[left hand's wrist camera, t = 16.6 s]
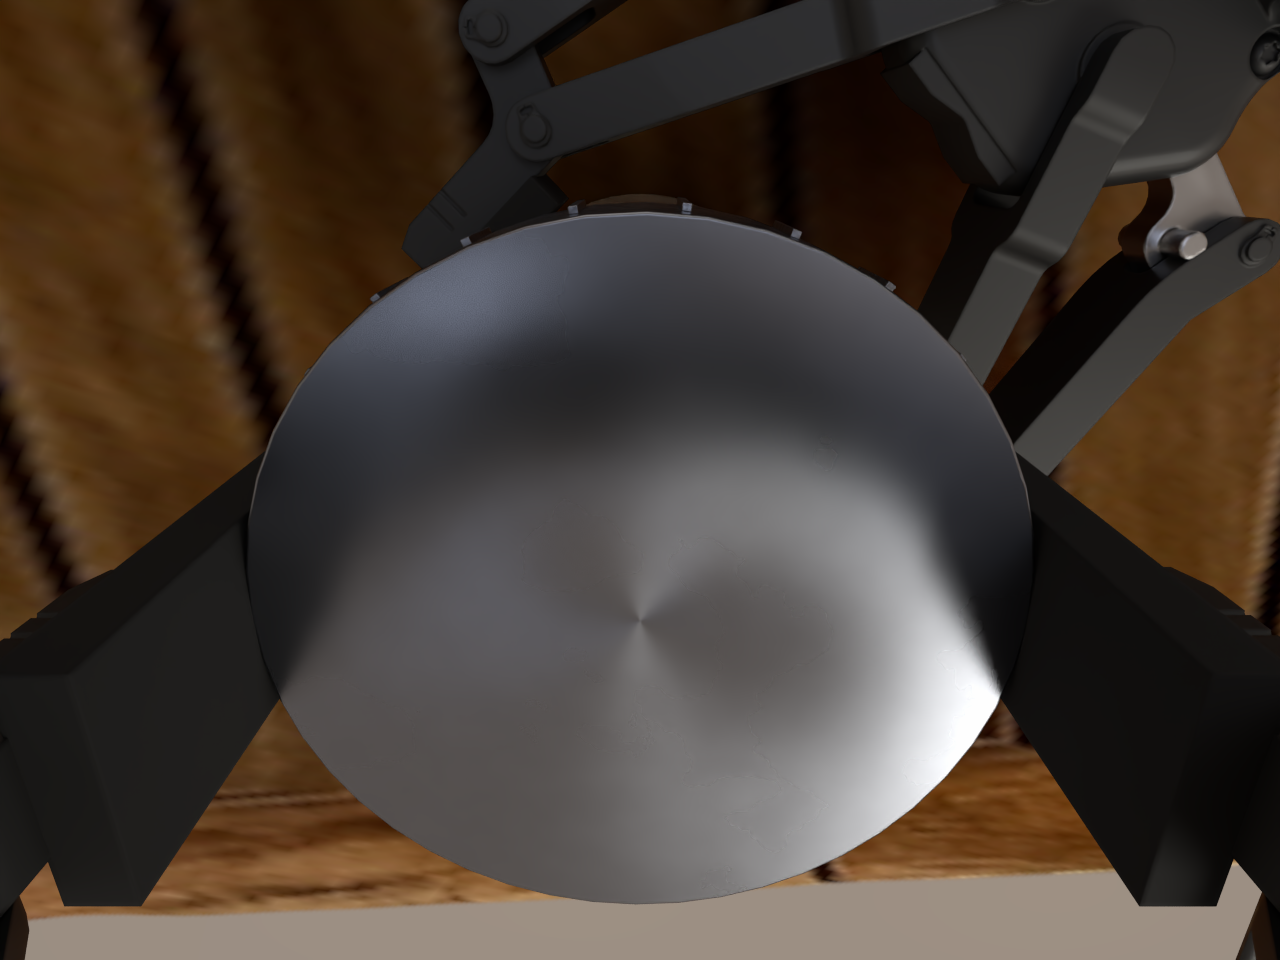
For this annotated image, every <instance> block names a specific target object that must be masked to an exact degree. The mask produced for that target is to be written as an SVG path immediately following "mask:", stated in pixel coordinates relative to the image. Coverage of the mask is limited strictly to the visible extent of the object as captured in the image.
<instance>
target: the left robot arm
mask: <svg viewBox="0 0 1280 960" xmlns="http://www.w3.org/2000/svg"><path fill="white" fill-rule="evenodd" d="M265 452H266V451H265ZM265 452H263V453H262V454H261V455H260V456H258V457H257V458H256V459H255V460H253V461H252V462H251V463H249V464H248V465H247V466H246V467H244V468H243V469H242V470H241V471H239V472H238V473H237V474H235V475H234V476H233V477H232V478H230V479H229V480H228V481H226V482H225V483H224V484H223V485H221V486H220V487H219V488H218V489H216V490H215V491H214V492H212V493H211V494H210V495H209V496H207V497H206V498H205V499H204V500H202V501H201V502H200V503H198V504H197V505H196V506H195V507H193V508H192V509H191V510H189V511H188V512H187V513H186V514H184V515H183V516H182V517H181V518H179V519H178V520H177V521H175V522H174V523H173V524H172V525H170V526H169V527H168V528H167V529H165V530H164V531H163V532H161V533H160V534H159V535H158V536H156V537H155V538H154V539H152V540H151V541H150V542H149V543H147V544H146V545H145V546H144V547H142V548H141V549H140V550H138V551H137V552H136V553H135V554H133V555H132V556H131V557H129V558H128V559H127V560H126V561H124V562H123V563H122V564H121V565H119V566H118V567H117V568H115V569H114V570H109V571H107V572H105V573H103V574H101V575H99V576H97V577H95V578H93V579H90V580H88V581H86V582H84V583H82V584H80V585H78V586H76V587H73V588H71V589H69V590H67V591H66V592H65V593H64V594H62V595H61V596H60V597H58V598H57V599H56V600H54V601H53V602H52V603H50V604H49V605H48V606H46V607H45V608H44V609H42V610H41V611H40V612H38V613H37V618H30V619H29V620H28V621H27V622H25V623H24V624H23V625H21V626H20V627H19V628H17V629H16V630H15V631H13V632H12V633H11V637H10V639H3V640H1V641H0V960H25V954H26V947H27V941H28V935H29V926H28V920H27V915H26V911H25V909H24V906H23V904H22V901H21V899H20V896H19V895H20V894H21V893H22V892H23V891H24V889H25V888H26V887H27V886H28V885H29V883H30V882H31V881H32V880H33V879H34V878H35V876H36V875H37V874H38V873H39V872H40V870H41V869H42V868H43V867H44V866H45V864H46V863H47V862H48V863H49V866H50V868H51V871H52V874H53V877H54V879H55V882H56V885H57V888H58V890H59V893H60V896H61V899H62V901H63V904H64V906H142V904H143V903H144V901H145V900H146V898H147V897H148V895H149V894H150V892H151V891H152V889H153V888H154V886H155V885H156V883H157V882H158V880H159V879H160V877H161V876H162V874H163V873H164V871H165V870H166V868H167V867H168V865H169V864H170V862H171V861H172V859H173V858H174V856H175V855H176V853H177V852H178V850H179V849H180V847H181V846H182V844H183V843H184V841H185V840H186V838H187V837H188V835H189V834H190V832H191V831H192V829H193V828H194V826H195V825H196V823H197V822H198V820H199V819H200V817H201V816H202V814H203V813H204V811H205V810H206V808H207V807H208V805H209V804H210V802H211V801H212V799H213V798H214V796H215V795H216V793H217V792H218V790H219V789H220V787H221V786H222V784H223V783H224V781H225V780H226V778H227V777H228V775H229V774H230V772H231V771H232V769H233V768H234V766H235V765H236V763H237V762H238V760H239V759H240V757H241V756H242V754H243V753H244V751H245V750H246V748H247V747H248V745H249V744H250V742H251V741H252V739H253V738H254V736H255V735H256V733H257V732H258V730H259V729H260V727H261V726H262V724H263V723H264V721H265V720H266V718H267V717H268V715H269V714H270V712H271V711H272V709H273V708H274V706H275V704H276V703H277V701H278V700H279V696H278V693H277V691H276V689H275V686H274V684H273V682H272V679H271V677H270V675H269V672H268V670H267V667H266V665H265V663H264V660H263V658H262V654H261V650H260V646H259V643H258V638H257V634H256V629H255V625H254V620H253V616H252V610H251V605H250V599H249V592H248V583H247V575H246V557H247V528H248V519H249V514H250V509H251V503H252V498H253V493H254V488H255V482H256V477H257V474H258V471H259V468H260V466H261V463H262V460H263V457H264V454H265ZM1015 452H1016V451H1015ZM1016 455H1017V459H1018V462H1019V465H1020V468H1021V471H1022V474H1023V477H1024V480H1025V483H1026V487H1027V493H1028V500H1029V506H1030V512H1031V519H1032V525H1033V531H1034V584H1033V590H1032V597H1031V603H1030V608H1029V613H1028V618H1027V623H1026V628H1025V632H1024V637H1023V641H1022V645H1021V648H1020V651H1019V655H1018V658H1017V661H1016V664H1015V668H1014V670H1013V672H1012V674H1011V676H1010V679H1009V681H1008V683H1007V685H1006V687H1005V689H1004V692H1003V694H1002V696H1001V699H1002V701H1003V702H1004V704H1005V705H1006V707H1007V708H1008V710H1009V711H1010V713H1011V714H1012V716H1013V717H1014V719H1015V720H1016V722H1017V723H1018V725H1019V726H1020V728H1021V729H1022V731H1023V732H1024V734H1025V735H1026V737H1027V738H1028V740H1029V741H1030V743H1031V744H1032V746H1033V747H1034V749H1035V750H1036V752H1037V753H1038V755H1039V756H1040V758H1041V759H1042V761H1043V762H1044V764H1045V765H1046V767H1047V768H1048V770H1049V771H1050V773H1051V774H1052V776H1053V777H1054V779H1055V780H1056V782H1057V783H1058V785H1059V786H1060V788H1061V789H1062V791H1063V792H1064V794H1065V795H1066V797H1067V798H1068V800H1069V801H1070V803H1071V804H1072V806H1073V807H1074V809H1075V810H1076V812H1077V813H1078V815H1079V816H1080V818H1081V819H1082V821H1083V822H1084V824H1085V825H1086V827H1087V828H1088V830H1089V831H1090V833H1091V834H1092V836H1093V837H1094V839H1095V840H1096V842H1097V843H1098V845H1099V846H1100V848H1101V849H1102V851H1103V852H1104V854H1105V855H1106V857H1107V858H1108V860H1109V861H1110V863H1111V864H1112V866H1113V867H1114V869H1115V870H1116V872H1117V873H1118V875H1119V876H1120V878H1121V879H1122V881H1123V882H1124V884H1125V885H1126V887H1127V888H1128V890H1129V891H1130V893H1131V894H1132V896H1133V897H1134V899H1135V900H1136V902H1137V903H1138V905H1139V906H1217V903H1218V900H1219V898H1220V895H1221V892H1222V889H1223V887H1224V884H1225V881H1226V878H1227V876H1228V873H1229V870H1230V868H1231V865H1232V862H1233V859H1235V860H1236V862H1237V863H1238V864H1239V865H1240V866H1241V867H1242V869H1243V870H1244V871H1245V872H1246V873H1247V875H1248V876H1249V877H1250V878H1251V879H1252V880H1253V882H1254V883H1255V884H1256V885H1257V886H1258V888H1259V889H1260V890H1261V891H1262V894H1261V896H1260V899H1259V901H1258V904H1257V906H1256V909H1255V912H1254V914H1253V917H1252V919H1251V922H1250V924H1249V927H1248V929H1247V932H1246V934H1245V937H1244V940H1243V942H1242V945H1241V947H1240V950H1239V953H1238V955H1237V958H1236V960H1280V637H1279V636H1278V635H1271V630H1270V629H1269V628H1267V627H1266V626H1265V625H1263V624H1262V623H1261V622H1259V621H1258V620H1257V619H1255V618H1254V617H1253V616H1251V615H1245V613H1244V612H1245V610H1243V609H1242V608H1241V607H1239V606H1238V605H1237V604H1235V603H1234V602H1233V601H1231V600H1230V599H1229V598H1227V597H1226V596H1225V595H1223V594H1222V593H1221V592H1219V591H1218V590H1217V589H1215V588H1214V587H1212V586H1210V585H1208V584H1206V583H1204V582H1201V581H1199V580H1197V579H1195V578H1193V577H1191V576H1189V575H1186V574H1184V573H1182V572H1180V571H1178V570H1176V569H1174V568H1171V567H1163V566H1161V565H1160V564H1159V563H1157V562H1156V561H1155V560H1154V559H1152V558H1151V557H1150V556H1149V555H1147V554H1146V553H1145V552H1143V551H1142V550H1141V549H1140V548H1138V547H1137V546H1136V545H1134V544H1133V543H1132V542H1131V541H1129V540H1128V539H1127V538H1126V537H1124V536H1123V535H1122V534H1120V533H1119V532H1118V531H1117V530H1115V529H1114V528H1113V527H1111V526H1110V525H1109V524H1108V523H1106V522H1105V521H1104V520H1103V519H1101V518H1100V517H1099V516H1097V515H1096V514H1095V513H1094V512H1092V511H1091V510H1090V509H1089V508H1087V507H1086V506H1085V505H1083V504H1082V503H1081V502H1080V501H1078V500H1077V499H1076V498H1074V497H1073V496H1072V495H1071V494H1069V493H1068V492H1067V491H1066V490H1064V489H1063V488H1062V487H1060V486H1059V485H1058V484H1057V483H1055V482H1054V481H1053V480H1052V479H1050V478H1049V477H1048V476H1046V475H1045V474H1044V473H1043V472H1041V471H1040V470H1039V469H1037V468H1036V467H1035V466H1034V465H1032V464H1031V463H1030V462H1029V461H1027V460H1026V459H1025V458H1023V457H1022V456H1021V455H1020V454H1018V453H1017V452H1016Z"/></svg>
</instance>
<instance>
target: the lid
mask: <svg viewBox="0 0 1280 960" xmlns="http://www.w3.org/2000/svg"><path fill="white" fill-rule="evenodd" d="M801 234H802V232H801V231H799V230H797V229H795V228H792V227H790V226H788V225H786V224H784V223H781V222H779V221H776V220H775V221H774V223H773V226H772V227H771V226H768V225H765V224H763V223H760V222H758V221H755V220H752V219H750V218H747V217H742V216H738V215H734V214H729V213H725V212H720V211H716V210H712V209H707V208H703V207H698V206H692V203H691V202H690V201H688V200H687V199H686V198H682V197H678V198H677V205H676V204H664V203H653V202H635V203H617V204H599V205H590V206H586V203H585V199H583V200H577V201H576V202H574V203H573V204H571V205H570V206H568V210H565V211H560V212H554V213H549V214H544V215H541V216H538V217H535V218H532V219H530V220H527V221H524V222H521V223H518V224H515V225H512V226H509V227H506V228H504V229H501V230H498V231H495V232H493V233H492V232H491V230H490V227H487V228H485V229H483V230H481V231H479V232H476V233H474V234H472V235H470V236H468V237H465V238H463V239H461V240H460V242H461V244H462V246H463V247H464V248H462V249H460V250H458V251H456V252H454V253H452V254H450V255H448V256H446V257H444V258H442V259H440V260H439V261H437V262H435V263H433V264H431V265H429V266H427V267H425V268H423V269H421V270H419V271H417V272H415V273H414V274H413V275H411V276H410V277H407V278H405V279H403V280H401V281H399V282H397V283H395V284H393V285H391V286H389V287H387V288H385V289H383V290H381V291H379V292H378V293H376V294H374V295H373V296H372V297H371V298H370V300H371V301H372V302H373V303H372V304H370V305H369V306H368V307H367V308H366V309H365V310H364V311H363V312H362V313H361V314H360V315H359V316H358V317H357V318H356V319H355V320H353V321H352V322H351V323H350V324H349V325H348V326H347V327H346V328H345V329H344V330H343V331H342V332H341V333H340V334H339V335H338V336H337V337H336V338H335V339H334V340H333V341H332V342H331V343H330V344H329V345H328V346H327V348H326V349H325V350H324V352H323V353H322V354H321V355H320V357H319V358H318V359H317V361H316V362H315V363H314V365H313V366H312V367H310V368H308V370H307V371H306V373H305V374H304V375H305V376H304V378H303V379H302V380H301V382H300V383H299V384H298V386H297V387H296V389H295V391H294V393H293V395H292V397H291V398H290V400H289V402H288V404H287V406H286V408H285V409H284V411H283V413H282V415H281V417H280V419H279V420H278V422H277V424H276V426H275V428H274V430H273V432H272V435H271V438H270V440H269V443H268V446H267V449H266V452H265V454H264V457H263V460H262V463H261V466H260V468H259V471H258V474H257V477H256V482H255V488H254V493H253V498H252V503H251V509H250V514H249V519H248V528H247V557H246V575H247V583H248V592H249V599H250V605H251V610H252V616H253V620H254V625H255V629H256V634H257V638H258V643H259V646H260V650H261V654H262V658H263V660H264V663H265V665H266V667H267V670H268V672H269V675H270V677H271V679H272V682H273V684H274V686H275V689H276V691H277V693H278V696H279V698H280V700H281V702H282V703H283V705H284V707H285V708H286V710H287V712H288V713H289V715H290V717H291V719H292V720H293V722H294V724H295V725H296V727H297V729H298V730H299V732H300V734H301V735H302V737H303V738H304V739H305V741H306V742H307V743H308V745H309V746H310V747H311V748H312V750H313V751H314V752H315V754H316V755H317V756H318V757H319V759H320V760H321V761H322V763H323V764H324V765H325V766H326V768H327V769H328V770H329V771H330V772H331V773H332V774H333V775H334V776H335V777H336V778H337V779H338V780H339V781H340V782H341V783H342V784H343V785H344V786H345V787H346V788H347V789H348V790H349V791H350V792H351V793H352V794H353V795H354V796H355V797H356V798H357V799H358V800H359V801H360V802H361V803H362V804H364V805H365V806H366V807H367V808H369V809H370V810H371V811H372V812H374V813H375V814H376V815H377V816H379V817H380V818H381V819H382V820H384V821H385V822H386V823H388V824H389V825H390V826H391V827H393V828H394V829H396V830H397V831H399V832H400V833H402V834H404V835H405V836H407V837H408V838H410V839H412V840H413V841H415V842H416V843H418V844H420V845H421V846H423V847H424V848H426V849H428V850H429V851H431V852H433V853H435V854H437V855H439V856H441V857H443V858H445V859H447V860H450V861H452V862H454V863H456V864H458V865H460V866H462V867H464V868H466V869H468V870H471V871H473V872H476V873H479V874H482V875H484V876H487V877H490V878H492V879H495V880H498V881H501V882H503V883H506V884H509V885H513V886H517V887H521V888H524V889H528V890H532V891H536V892H540V893H544V894H548V895H553V896H559V897H565V898H572V899H578V900H585V901H591V902H605V903H623V904H655V903H679V902H687V901H695V900H702V899H709V898H717V897H723V896H727V895H732V894H736V893H740V892H744V891H749V890H753V889H757V888H761V887H765V886H768V885H771V884H774V883H777V882H779V881H782V880H785V879H788V878H791V877H794V876H797V875H800V874H803V873H805V872H807V871H810V870H812V869H814V868H816V867H818V866H820V865H823V864H825V863H827V862H829V861H831V860H833V859H836V858H838V857H840V856H842V855H844V854H846V853H847V852H849V851H851V850H852V849H854V848H856V847H857V846H859V845H861V844H862V843H864V842H866V841H868V840H869V839H871V838H873V837H874V836H876V835H878V834H879V833H881V832H882V831H883V830H885V829H886V828H887V827H889V826H890V825H891V824H893V823H894V822H895V821H897V820H898V819H899V818H901V817H902V816H903V815H905V814H906V813H907V812H909V811H910V810H911V809H913V808H914V807H915V806H916V805H917V804H918V803H919V802H920V801H921V800H922V799H923V798H924V797H926V796H927V795H928V794H929V793H930V792H931V791H932V790H933V789H934V788H935V787H936V786H937V785H938V784H939V783H940V782H941V781H942V780H943V779H944V778H945V777H946V776H947V775H948V774H949V773H950V771H951V770H952V769H953V768H954V767H955V765H956V764H957V763H958V762H959V761H960V759H961V758H962V757H963V756H964V754H965V753H966V752H967V751H968V750H969V748H970V747H971V746H972V745H973V743H974V742H975V740H976V739H977V737H978V735H979V734H980V732H981V731H982V729H983V728H984V726H985V724H986V723H987V721H988V720H989V718H990V717H991V715H992V713H993V712H994V710H995V709H996V707H997V705H998V703H999V700H1000V698H1001V696H1002V694H1003V692H1004V689H1005V687H1006V685H1007V683H1008V681H1009V679H1010V676H1011V674H1012V672H1013V670H1014V668H1015V664H1016V661H1017V658H1018V655H1019V651H1020V648H1021V645H1022V641H1023V637H1024V632H1025V628H1026V623H1027V618H1028V613H1029V608H1030V603H1031V597H1032V590H1033V584H1034V531H1033V525H1032V519H1031V512H1030V506H1029V500H1028V493H1027V487H1026V483H1025V480H1024V477H1023V474H1022V471H1021V468H1020V465H1019V462H1018V459H1017V455H1016V452H1015V449H1014V446H1013V443H1012V440H1011V438H1010V436H1009V434H1008V432H1007V430H1006V428H1005V426H1004V424H1003V422H1002V420H1001V418H1000V416H999V414H998V412H997V410H996V408H995V406H994V404H993V402H992V400H991V398H990V396H989V394H988V393H987V392H986V390H985V389H984V387H983V386H982V385H981V383H980V382H979V380H978V379H977V378H976V376H975V375H974V373H973V372H972V371H971V369H970V368H969V366H968V365H967V364H966V362H965V361H966V359H965V357H964V356H963V354H961V353H960V352H958V351H957V350H956V349H955V348H954V347H953V346H952V345H951V344H950V343H949V342H948V341H947V340H946V339H945V338H944V337H943V336H942V335H941V334H940V333H939V332H938V331H937V330H936V329H935V328H934V327H933V326H932V325H931V324H930V323H929V321H928V320H927V319H926V318H925V317H924V316H923V315H922V314H921V313H920V312H918V311H917V310H916V309H914V308H913V307H912V306H910V305H909V304H908V303H906V302H905V301H904V300H902V299H901V298H900V297H899V296H897V295H896V294H895V293H893V292H892V291H893V290H894V289H895V288H896V286H895V285H894V284H892V283H891V282H890V281H888V280H886V279H884V278H882V277H879V276H877V275H875V274H873V273H871V272H869V271H867V270H865V269H863V268H861V267H859V268H858V269H857V268H855V267H853V266H851V265H849V264H848V263H846V262H844V261H842V260H840V259H838V258H837V257H835V256H833V255H831V254H829V253H828V252H826V251H824V250H822V249H820V248H818V247H816V246H814V245H812V244H810V243H808V242H806V241H804V240H802V239H800V236H801Z"/></svg>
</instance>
